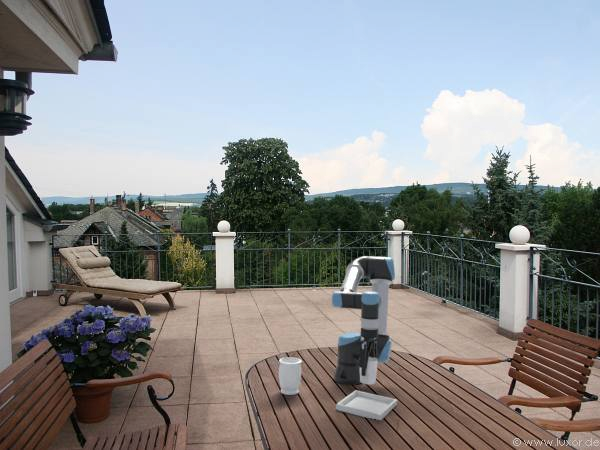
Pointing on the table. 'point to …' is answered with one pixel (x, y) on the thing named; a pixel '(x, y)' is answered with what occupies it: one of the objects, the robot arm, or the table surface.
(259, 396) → the table surface
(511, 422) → the table surface
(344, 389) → the table surface
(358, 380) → the robot arm
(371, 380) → the white cup
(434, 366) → the table surface
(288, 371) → the jar
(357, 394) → the grey tray
